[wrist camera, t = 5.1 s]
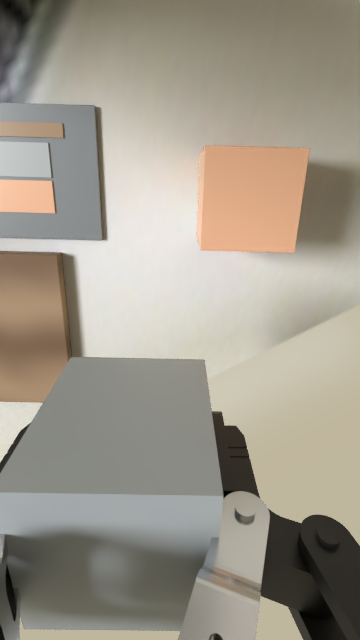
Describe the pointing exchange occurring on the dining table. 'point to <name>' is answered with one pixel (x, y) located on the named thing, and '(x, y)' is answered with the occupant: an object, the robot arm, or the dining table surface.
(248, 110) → the dining table surface
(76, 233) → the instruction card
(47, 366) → the walnut base plate
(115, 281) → the dining table surface
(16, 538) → the slate brick
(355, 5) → the dining table surface
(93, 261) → the dining table surface
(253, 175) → the peach orange block
